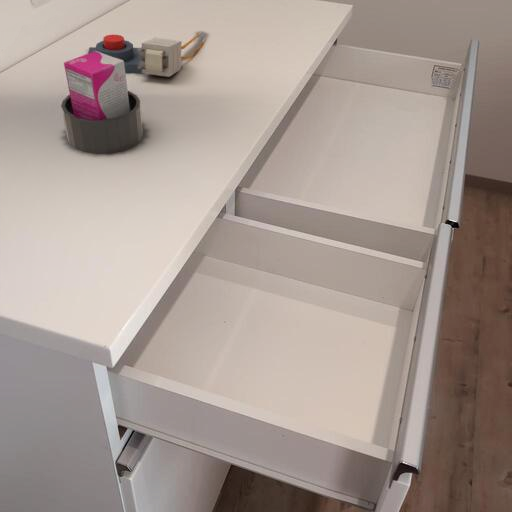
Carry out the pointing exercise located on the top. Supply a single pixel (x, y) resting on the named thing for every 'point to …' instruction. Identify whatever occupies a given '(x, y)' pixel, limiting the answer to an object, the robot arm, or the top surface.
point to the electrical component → (162, 56)
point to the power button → (114, 42)
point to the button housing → (122, 55)
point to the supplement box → (97, 86)
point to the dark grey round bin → (104, 129)
